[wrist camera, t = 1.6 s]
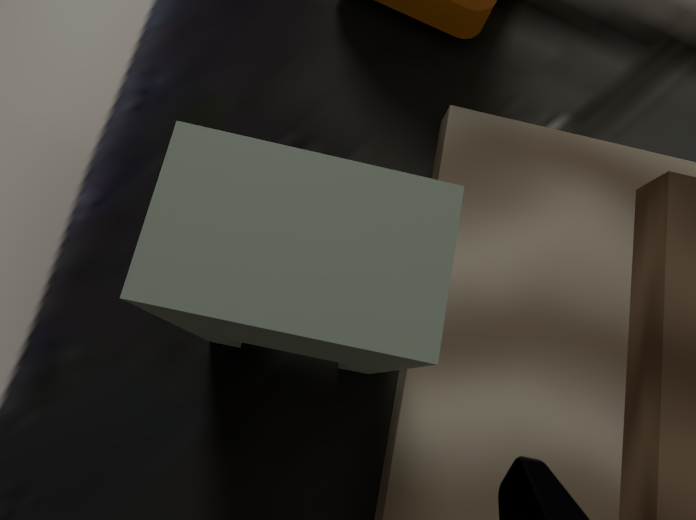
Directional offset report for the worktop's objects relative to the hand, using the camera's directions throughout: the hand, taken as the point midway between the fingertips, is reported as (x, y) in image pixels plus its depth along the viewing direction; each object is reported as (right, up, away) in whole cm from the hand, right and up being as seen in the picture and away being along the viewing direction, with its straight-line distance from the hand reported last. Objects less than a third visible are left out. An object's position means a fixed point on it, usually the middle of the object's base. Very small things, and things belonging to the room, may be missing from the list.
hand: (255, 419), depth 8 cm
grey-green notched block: (0, +1, +12) cm, 12 cm away
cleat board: (+13, -2, +13) cm, 19 cm away
